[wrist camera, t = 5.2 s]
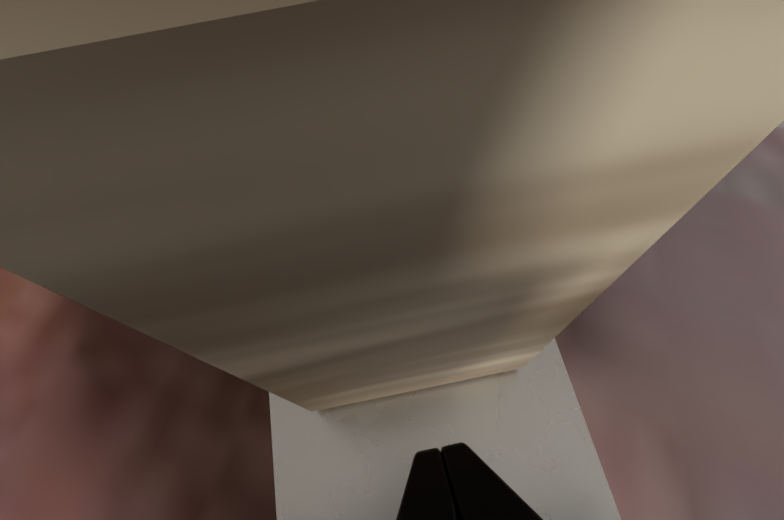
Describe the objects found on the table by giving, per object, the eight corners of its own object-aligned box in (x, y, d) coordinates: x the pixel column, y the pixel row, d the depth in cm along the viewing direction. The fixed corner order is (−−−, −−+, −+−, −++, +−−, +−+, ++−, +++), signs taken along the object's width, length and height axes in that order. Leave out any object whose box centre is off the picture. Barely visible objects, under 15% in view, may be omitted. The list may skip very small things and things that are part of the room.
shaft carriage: (523, 367, 14) (1054, -137, 2) (311, 411, 14) (-321, 118, 2) (457, 163, 18) (526, -433, 6) (289, 196, 17) (17, -351, 6)
